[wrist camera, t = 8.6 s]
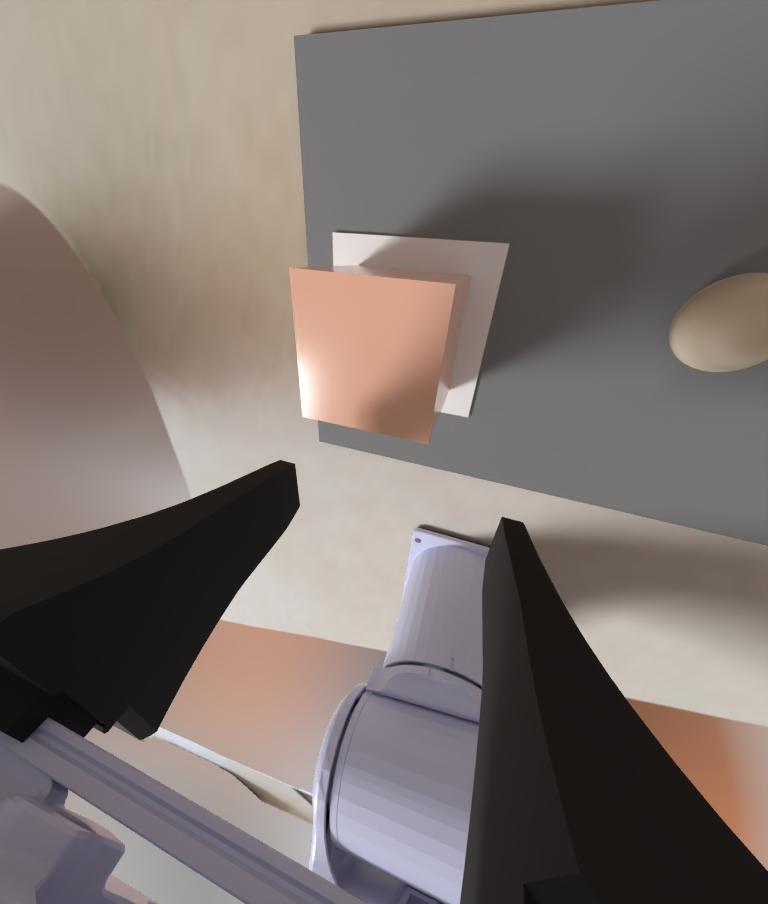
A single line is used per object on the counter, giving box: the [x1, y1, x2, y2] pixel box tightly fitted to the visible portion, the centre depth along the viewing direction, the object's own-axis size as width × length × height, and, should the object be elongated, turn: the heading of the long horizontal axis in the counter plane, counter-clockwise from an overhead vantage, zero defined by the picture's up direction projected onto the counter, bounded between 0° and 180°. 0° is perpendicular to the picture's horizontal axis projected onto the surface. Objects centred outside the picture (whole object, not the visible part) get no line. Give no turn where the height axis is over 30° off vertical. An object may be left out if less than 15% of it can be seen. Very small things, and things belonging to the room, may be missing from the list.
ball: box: [669, 273, 768, 372], centre depth 11 cm, size 3×3×3 cm
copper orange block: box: [289, 265, 472, 444], centre depth 13 cm, size 5×5×6 cm
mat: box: [294, 0, 768, 546], centre depth 14 cm, size 18×27×1 cm, turn 86°
